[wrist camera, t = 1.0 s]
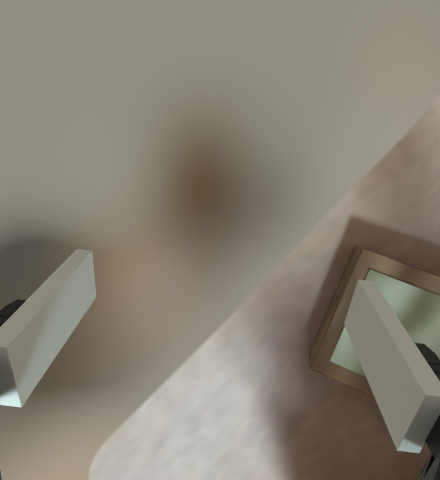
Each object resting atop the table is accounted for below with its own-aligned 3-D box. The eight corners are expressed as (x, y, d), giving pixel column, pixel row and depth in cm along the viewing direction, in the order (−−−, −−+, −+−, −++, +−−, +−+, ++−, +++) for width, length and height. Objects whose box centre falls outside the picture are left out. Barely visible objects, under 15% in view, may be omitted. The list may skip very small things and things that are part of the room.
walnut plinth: (466, 287, 41) (490, 295, 36) (412, 400, 43) (428, 422, 38) (355, 245, 44) (363, 248, 39) (308, 354, 46) (311, 370, 41)
